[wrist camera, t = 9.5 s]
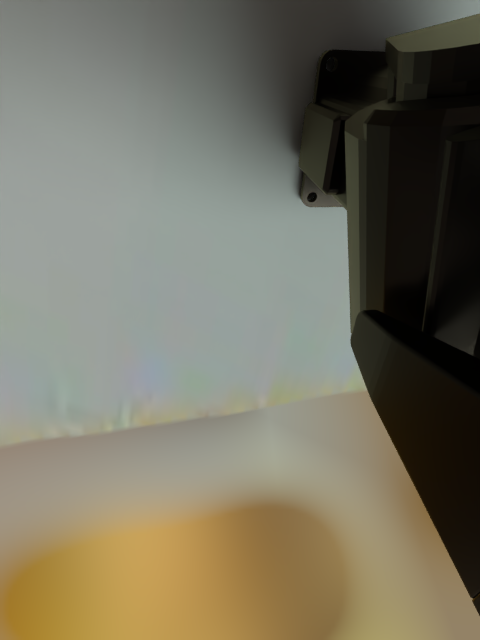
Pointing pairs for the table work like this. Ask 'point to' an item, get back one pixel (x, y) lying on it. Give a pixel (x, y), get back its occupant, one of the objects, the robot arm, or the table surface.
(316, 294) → the table surface
